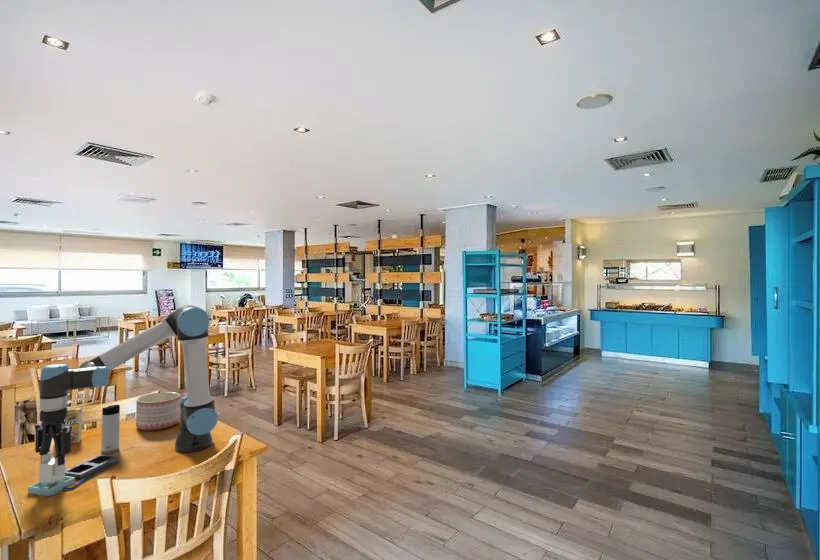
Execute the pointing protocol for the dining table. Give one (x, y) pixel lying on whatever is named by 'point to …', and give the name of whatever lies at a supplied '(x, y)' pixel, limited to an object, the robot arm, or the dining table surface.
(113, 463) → the black divided organizer
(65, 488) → the smartphone
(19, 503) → the dining table surface
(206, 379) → the robot arm
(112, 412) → the travel mug
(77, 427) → the candy box
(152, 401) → the planter
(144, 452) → the dining table surface
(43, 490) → the tray
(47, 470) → the white rectangular block
